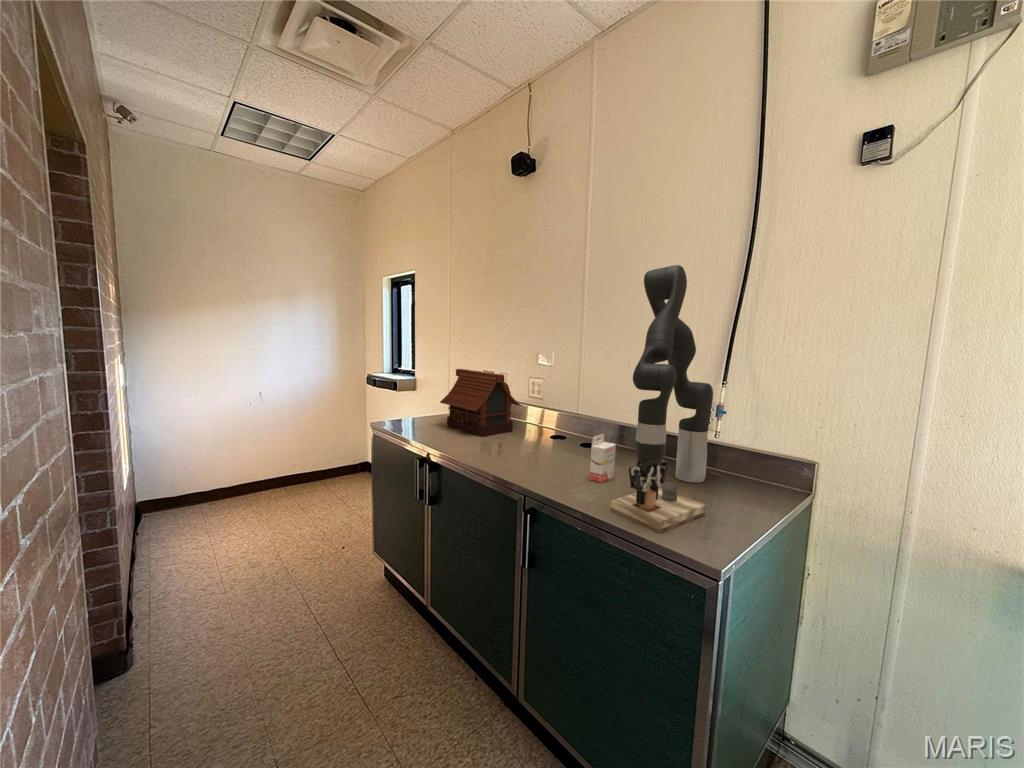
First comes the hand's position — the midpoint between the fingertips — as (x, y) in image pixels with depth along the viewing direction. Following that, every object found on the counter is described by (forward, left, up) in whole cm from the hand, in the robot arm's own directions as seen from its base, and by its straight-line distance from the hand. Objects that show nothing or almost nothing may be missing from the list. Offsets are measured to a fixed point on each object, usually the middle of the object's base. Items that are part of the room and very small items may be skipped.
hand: (646, 501), depth 115 cm
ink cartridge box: (-13, -28, -5) cm, 31 cm away
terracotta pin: (0, 0, -3) cm, 3 cm away
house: (-15, -114, -5) cm, 115 cm away
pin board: (-5, 0, -4) cm, 7 cm away
